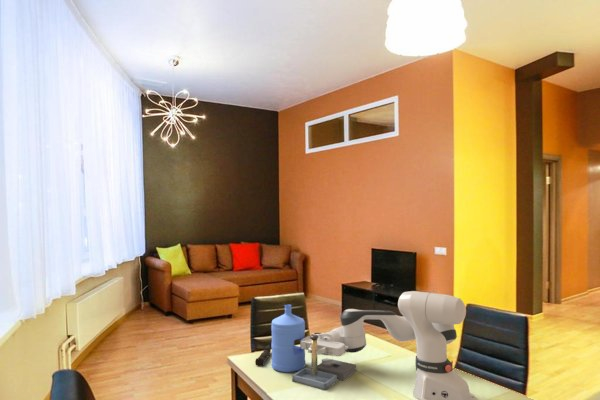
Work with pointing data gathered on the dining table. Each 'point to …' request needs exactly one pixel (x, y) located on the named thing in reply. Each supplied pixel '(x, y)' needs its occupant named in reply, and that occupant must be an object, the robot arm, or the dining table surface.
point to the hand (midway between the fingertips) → (313, 351)
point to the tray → (314, 379)
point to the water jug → (287, 342)
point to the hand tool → (263, 356)
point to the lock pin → (314, 353)
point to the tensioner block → (337, 368)
